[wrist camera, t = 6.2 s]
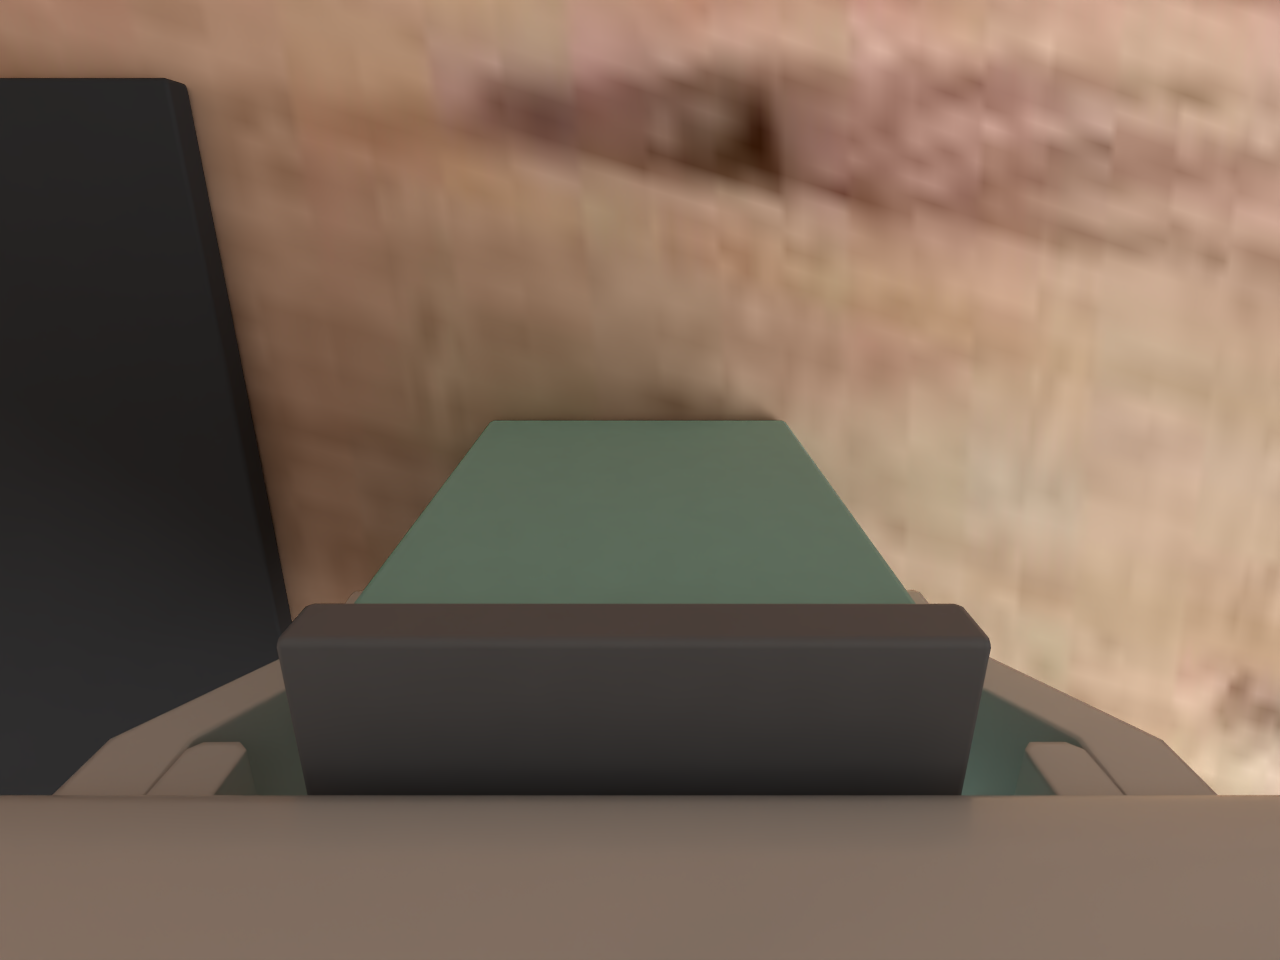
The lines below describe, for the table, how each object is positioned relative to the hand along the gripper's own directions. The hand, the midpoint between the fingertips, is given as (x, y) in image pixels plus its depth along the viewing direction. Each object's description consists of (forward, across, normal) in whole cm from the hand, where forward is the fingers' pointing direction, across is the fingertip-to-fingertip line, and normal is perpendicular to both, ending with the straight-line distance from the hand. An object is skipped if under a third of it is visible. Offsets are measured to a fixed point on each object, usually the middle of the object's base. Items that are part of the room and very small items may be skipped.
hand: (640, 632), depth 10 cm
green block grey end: (+3, 0, 0) cm, 3 cm away
